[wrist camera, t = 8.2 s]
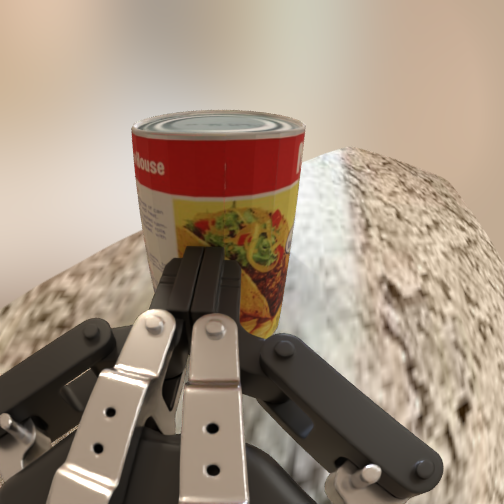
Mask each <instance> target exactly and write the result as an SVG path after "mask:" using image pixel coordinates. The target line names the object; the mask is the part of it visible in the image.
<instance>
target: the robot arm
mask: <svg viewBox="0 0 504 504" xmlns="http://www.w3.org/2000/svg"><path fill="white" fill-rule="evenodd" d="M240 300H241V267H240V265H239V264H238V262H237V260H225V249H224V247H207V246H206V248H205V246H186V249H185V252H184V254H183V257H182V258H173V259H172V260H170V261H169V262H168V263H167V264H166V265H165V268H164V270H163V273H162V276H161V278H160V281H159V284H158V286H157V289H156V291H155V294H154V297H153V299H152V302H151V305H150V308H149V310H148V311H145V312H143V313H142V314H141V315H139V316H138V317H137V319H136V320H135V322H134V324H133V325H130V326H125V327H118V328H111V327H110V325H109V323H108V322H107V321H105V320H103V319H100V318H92V319H88V320H86V321H84V322H82V323H81V324H79V325H78V326H76V327H74V328H73V329H71V330H70V331H68V332H67V333H65V334H63V335H62V336H60V337H59V338H57V339H56V340H54V341H53V342H51V343H49V344H48V345H46V346H45V347H43V348H42V349H40V350H39V351H37V352H36V353H34V354H33V355H31V356H30V357H28V358H27V359H25V360H24V361H22V362H21V363H19V364H18V365H16V366H15V367H13V368H12V369H10V370H9V371H7V372H6V373H4V374H3V375H1V376H0V475H1V477H2V479H3V481H4V484H3V485H2V486H1V488H0V504H317V503H316V502H315V501H314V500H313V499H312V498H311V497H310V496H309V495H308V494H307V493H306V492H305V491H304V490H303V489H302V488H301V487H300V486H299V485H298V484H297V483H296V482H295V481H294V480H293V479H292V478H291V477H290V476H289V475H288V474H287V472H286V471H285V470H284V469H283V468H282V467H281V466H280V465H279V464H278V463H277V462H276V461H275V460H274V459H273V458H272V457H271V456H270V455H268V454H267V453H265V452H264V451H262V450H261V449H259V448H257V447H255V446H252V445H250V444H247V443H245V434H244V419H243V403H242V394H245V395H248V396H251V397H254V398H256V399H257V401H258V403H259V404H260V405H261V406H262V407H263V408H264V409H265V410H266V411H267V412H268V413H269V414H270V416H271V417H272V418H273V419H274V420H275V421H276V422H277V423H278V424H279V425H280V426H281V427H282V428H283V429H284V430H285V431H286V432H287V433H288V434H289V435H290V436H291V437H292V438H293V439H294V440H295V441H296V442H297V443H298V444H299V445H300V446H301V447H302V448H303V449H304V450H305V451H306V452H307V453H308V454H309V455H311V456H312V457H313V458H314V459H315V460H316V461H317V462H318V463H319V464H320V465H321V466H322V467H323V468H325V469H326V470H327V471H328V472H329V473H330V475H329V476H328V477H327V479H326V482H325V493H326V495H327V497H328V498H329V499H330V501H331V502H332V504H405V503H406V502H407V501H408V500H409V499H410V498H412V497H414V496H417V495H420V494H423V493H426V492H428V491H430V490H432V489H433V488H434V487H435V486H436V485H437V484H438V483H439V481H440V480H441V478H442V475H443V462H442V459H441V457H440V456H439V454H438V453H437V452H436V451H434V450H433V449H432V448H430V447H429V446H428V445H427V444H425V443H424V442H423V441H421V440H420V439H419V438H418V437H416V436H415V435H414V434H413V433H411V432H410V431H409V430H408V429H406V428H405V427H404V426H403V425H401V424H400V423H399V422H398V421H396V420H395V419H394V418H393V417H391V416H390V415H389V414H388V413H386V412H385V411H384V410H383V409H382V408H380V407H379V406H378V405H377V404H375V403H374V402H373V401H372V400H371V399H369V398H368V397H367V396H366V395H365V394H363V393H362V392H361V391H360V390H359V389H357V388H356V387H355V386H354V385H353V384H351V383H350V382H349V381H348V380H347V379H346V378H344V377H343V376H342V375H341V374H340V373H339V372H337V371H336V370H335V369H334V368H333V367H332V366H330V365H329V364H328V363H327V362H326V361H325V360H323V359H322V358H321V357H320V356H319V355H318V354H317V353H315V352H314V351H313V350H312V349H311V348H310V347H309V346H307V345H306V344H305V343H304V342H303V341H302V340H300V339H299V338H298V337H296V336H294V335H291V334H285V333H279V334H274V335H272V336H270V337H268V338H267V339H264V338H261V337H257V336H255V335H252V334H250V333H249V332H247V331H246V330H245V329H244V328H243V327H242V326H241V324H240V321H239V320H240ZM188 354H190V365H189V378H188V383H186V384H185V387H184V395H183V410H182V427H181V434H175V428H176V424H175V416H176V411H177V407H178V403H179V399H180V395H181V391H182V387H183V383H184V379H185V376H186V362H187V357H188ZM89 368H91V369H90V370H88V371H87V372H85V371H86V370H87V369H89ZM83 372H85V373H84V374H83V375H81V376H80V377H78V378H77V379H75V380H74V381H72V382H71V383H69V384H68V385H66V384H67V383H68V382H70V381H71V380H73V379H74V378H76V377H77V376H79V375H80V374H82V373H83ZM78 424H79V426H78V429H77V430H75V431H73V432H72V433H71V434H69V435H68V436H67V437H65V438H64V439H63V440H61V441H60V442H59V443H57V444H56V445H55V446H53V447H52V446H51V443H52V442H53V441H55V440H56V439H58V438H59V437H61V436H62V435H64V434H65V433H67V432H68V431H69V430H71V429H72V428H74V427H75V426H77V425H78Z"/></svg>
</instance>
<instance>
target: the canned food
mask: <svg viewBox="0 0 504 504" xmlns="http://www.w3.org/2000/svg"><path fill="white" fill-rule="evenodd" d="M305 127H306V126H305V124H304V123H302V122H301V121H299V120H296V119H293V118H290V117H286V116H282V115H276V114H270V113H263V112H254V111H240V110H201V111H187V112H178V113H171V114H165V115H160V116H155V117H151V118H147V119H144V120H141V121H139V122H137V123H135V124H134V125H133V127H132V129H131V130H132V144H133V157H134V167H135V177H136V186H137V194H138V202H139V209H140V216H141V222H142V229H143V235H144V241H145V247H146V253H147V258H148V263H149V268H150V273H151V278H152V283H153V288H154V292H155V291H156V289H157V286H158V284H159V281H160V278H161V276H162V273H163V270H164V268H165V265H166V264H167V263H168V262H169V261H170V260H172V259H173V258H182V257H183V254H184V252H185V249H186V246H205V248H206V246H207V247H224V249H225V260H237V262H238V264H239V265H240V267H241V300H240V320H239V321H240V324H241V326H242V327H243V328H244V329H245V330H246V331H247V332H249V333H250V334H252V335H255V336H257V337H261V338H264V339H267V338H268V337H270V336H272V335H273V334H274V332H275V330H276V329H277V327H278V323H279V318H280V313H281V307H282V300H283V294H284V288H285V282H286V275H287V269H288V262H289V255H290V248H291V241H292V234H293V227H294V220H295V212H296V205H297V197H298V189H299V181H300V172H301V164H302V155H303V146H304V136H305Z"/></svg>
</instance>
